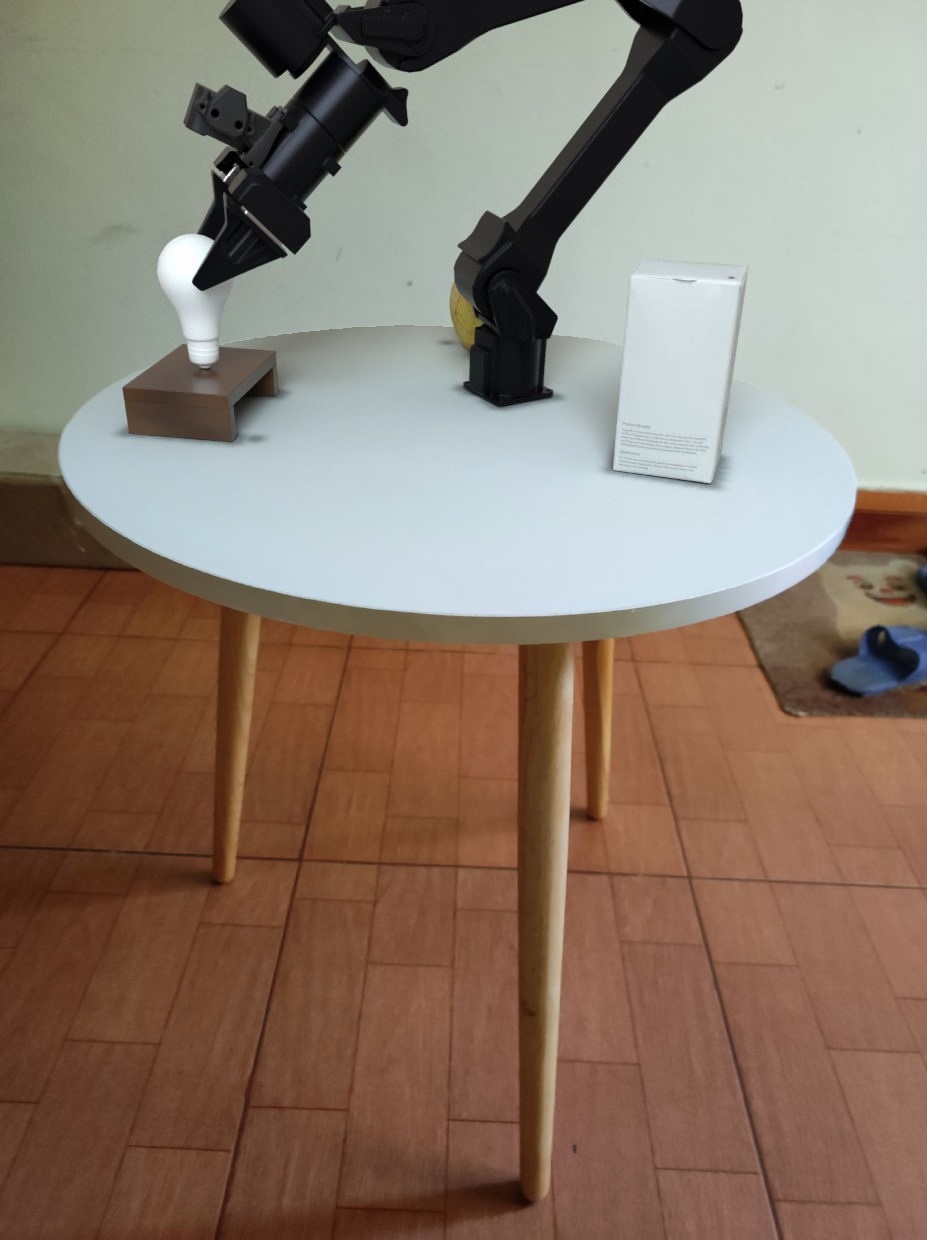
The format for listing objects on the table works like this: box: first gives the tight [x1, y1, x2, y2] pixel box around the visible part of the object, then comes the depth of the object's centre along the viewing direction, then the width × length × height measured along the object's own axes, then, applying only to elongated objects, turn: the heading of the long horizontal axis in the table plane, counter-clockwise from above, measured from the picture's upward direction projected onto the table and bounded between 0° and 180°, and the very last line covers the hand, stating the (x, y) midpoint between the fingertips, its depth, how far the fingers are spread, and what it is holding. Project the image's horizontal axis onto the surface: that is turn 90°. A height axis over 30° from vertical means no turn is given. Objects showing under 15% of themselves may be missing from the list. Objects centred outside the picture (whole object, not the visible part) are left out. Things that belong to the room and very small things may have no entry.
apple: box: [449, 279, 483, 351], centre depth 105 cm, size 9×9×10 cm
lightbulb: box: [156, 233, 234, 368], centre depth 84 cm, size 6×6×11 cm
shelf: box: [122, 343, 280, 443], centre depth 88 cm, size 9×13×4 cm
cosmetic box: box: [612, 257, 749, 484], centre depth 77 cm, size 8×7×16 cm
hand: (192, 273), depth 82 cm, fingers open, 9 cm apart
